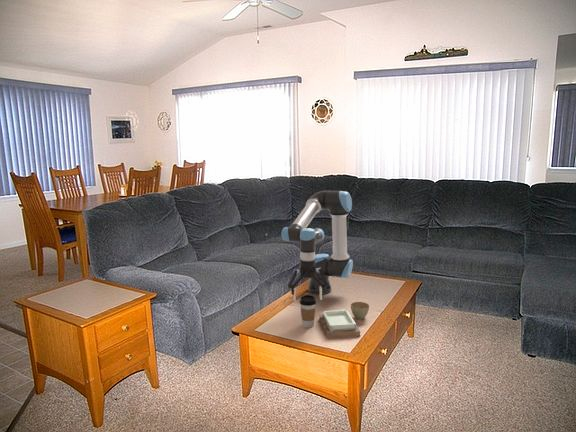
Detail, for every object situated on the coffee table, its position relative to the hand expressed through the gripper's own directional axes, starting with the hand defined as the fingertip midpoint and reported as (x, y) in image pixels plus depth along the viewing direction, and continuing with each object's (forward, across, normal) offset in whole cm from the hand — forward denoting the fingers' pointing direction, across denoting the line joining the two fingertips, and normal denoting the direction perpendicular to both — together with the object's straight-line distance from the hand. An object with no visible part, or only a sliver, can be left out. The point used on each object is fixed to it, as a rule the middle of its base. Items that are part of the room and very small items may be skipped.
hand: (307, 299), depth 217 cm
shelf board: (+14, +15, -5) cm, 21 cm away
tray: (+11, +15, -5) cm, 20 cm away
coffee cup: (+14, 0, 0) cm, 14 cm away
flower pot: (+14, +29, +5) cm, 33 cm away
